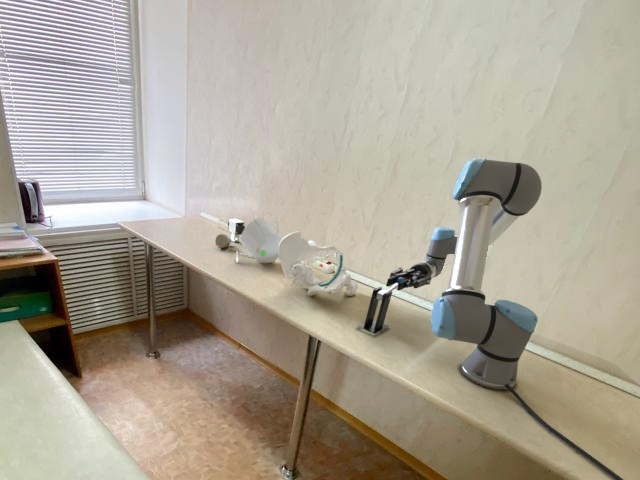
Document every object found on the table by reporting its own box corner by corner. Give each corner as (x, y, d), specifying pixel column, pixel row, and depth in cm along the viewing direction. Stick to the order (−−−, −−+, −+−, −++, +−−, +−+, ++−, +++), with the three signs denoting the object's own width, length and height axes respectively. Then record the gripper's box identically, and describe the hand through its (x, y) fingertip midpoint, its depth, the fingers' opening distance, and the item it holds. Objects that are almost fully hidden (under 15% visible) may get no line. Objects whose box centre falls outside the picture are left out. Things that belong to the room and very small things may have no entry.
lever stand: (371, 321, 154) (381, 284, 146) (388, 328, 150) (399, 290, 143) (356, 329, 148) (366, 290, 140) (374, 336, 144) (385, 297, 136)
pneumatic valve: (236, 244, 223) (237, 221, 217) (226, 238, 231) (227, 215, 225) (245, 243, 226) (247, 221, 219) (235, 237, 234) (236, 215, 227)
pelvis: (384, 263, 168) (350, 286, 149) (352, 301, 185) (318, 326, 166) (322, 207, 174) (282, 223, 155) (297, 250, 191) (258, 268, 172)
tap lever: (397, 283, 153) (399, 274, 150) (406, 286, 151) (408, 277, 148) (374, 299, 143) (375, 290, 141) (383, 303, 142) (385, 293, 139)
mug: (234, 245, 222) (235, 231, 213) (224, 256, 217) (224, 243, 209) (222, 239, 223) (223, 225, 214) (212, 250, 219) (212, 236, 210)
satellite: (270, 236, 179) (305, 233, 196) (243, 208, 185) (279, 208, 202) (249, 277, 194) (283, 271, 211) (224, 250, 200) (259, 246, 217)
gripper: (439, 288, 158) (412, 302, 143) (399, 275, 167) (370, 287, 152) (446, 269, 154) (418, 281, 139) (404, 256, 163) (375, 267, 148)
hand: (393, 284), depth 146 cm, fingers closed on tap lever, 4 cm apart
